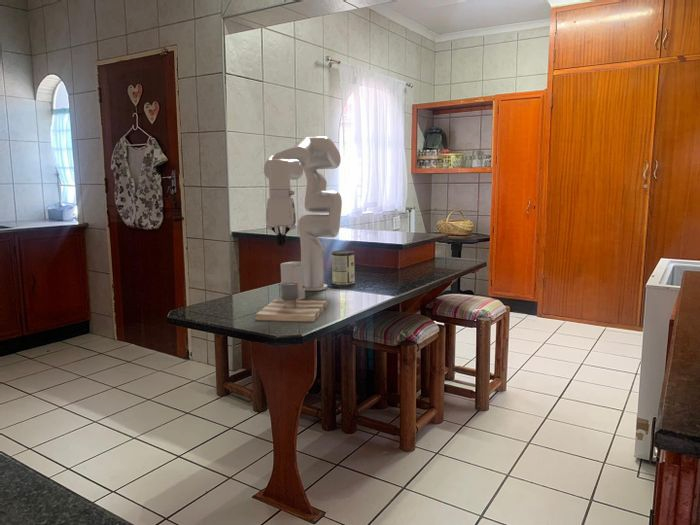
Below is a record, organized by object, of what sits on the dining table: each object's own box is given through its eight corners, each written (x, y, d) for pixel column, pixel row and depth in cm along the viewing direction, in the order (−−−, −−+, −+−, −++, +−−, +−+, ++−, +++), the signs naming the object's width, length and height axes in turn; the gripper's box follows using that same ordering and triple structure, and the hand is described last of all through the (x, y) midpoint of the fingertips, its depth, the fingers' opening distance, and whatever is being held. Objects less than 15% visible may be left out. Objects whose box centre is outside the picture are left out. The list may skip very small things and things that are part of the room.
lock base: (274, 304, 204) (274, 291, 203) (326, 306, 201) (326, 292, 200) (255, 320, 182) (255, 305, 181) (314, 321, 179) (313, 306, 178)
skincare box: (293, 302, 207) (292, 264, 204) (280, 301, 210) (279, 263, 207) (305, 298, 214) (304, 261, 212) (293, 296, 217) (292, 260, 214)
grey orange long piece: (296, 300, 187) (295, 285, 187) (279, 299, 188) (278, 285, 187) (305, 291, 201) (304, 278, 200) (289, 291, 202) (289, 278, 201)
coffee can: (333, 280, 250) (333, 250, 248) (355, 280, 249) (355, 250, 247) (330, 284, 240) (330, 253, 238) (353, 284, 239) (353, 253, 237)
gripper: (302, 193, 196) (304, 244, 198) (262, 194, 198) (264, 244, 201) (297, 194, 188) (299, 246, 191) (256, 194, 191) (258, 246, 193)
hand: (281, 245), depth 196 cm, fingers closed
